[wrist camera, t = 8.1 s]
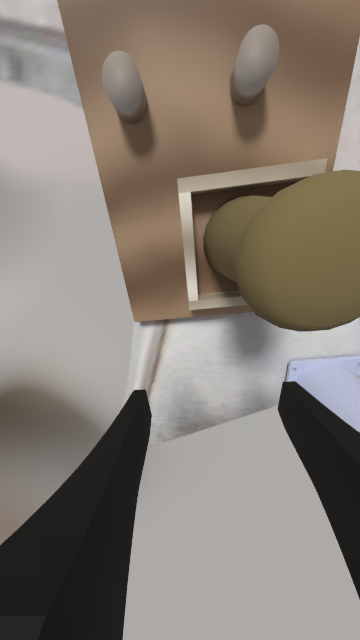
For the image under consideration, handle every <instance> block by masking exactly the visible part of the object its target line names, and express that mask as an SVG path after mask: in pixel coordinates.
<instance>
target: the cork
mask: <svg viewBox="0 0 360 640" xmlns="http://www.w3.org/2000/svg"><path fill="white" fill-rule="evenodd" d="M203 249H204V253H205V256H206V259H207V261H208V263H209V264H210V265H211V266H212V268H213V269H214V270H215V271H217V272H218V273H220V274H222V275H223V276H225V277H227V278H229V279H231V280H233V281H235V282H237V285H238V288H239V291H240V294H241V296H242V297H243V299H244V300H245V301H246V303H247V304H248V305H249V306H250V307H251V309H252V310H253V311H254V312H255V314H256V315H258V316H259V317H261V318H263V319H265V320H266V321H268V322H270V323H272V324H274V325H276V326H278V327H280V328H284V329H289V330H295V331H318V330H329V329H332V328H335V327H338V326H341V325H344V324H347V323H350V322H352V321H354V320H355V319H357V318H359V317H360V171H352V170H341V171H334V172H327V173H320V174H315V175H312V176H310V177H307V178H305V179H303V180H301V181H299V182H297V183H295V184H293V185H291V186H289V187H287V188H285V189H283V190H281V191H279V192H278V193H276V194H275V195H274V196H273V197H266V196H254V195H245V196H238V197H234V198H232V199H230V200H228V201H226V202H224V203H223V204H222V205H221V206H220V207H219V208H218V209H217V210H216V211H215V212H214V213H213V214H212V216H211V217H210V219H209V221H208V223H207V225H206V227H205V232H204V236H203Z"/></svg>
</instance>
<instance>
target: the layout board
mask: <svg viewBox="0 0 360 640" xmlns="http://www.w3.org/2000/svg"><path fill="white" fill-rule="evenodd" d="M57 1H58V5H59V9H60V13H61V18H62V22H63V26H64V30H65V34H66V38H67V43H68V47H69V51H70V55H71V59H72V63H73V68H74V72H75V76H76V80H77V84H78V88H79V92H80V97H81V101H82V105H83V109H84V113H85V117H86V122H87V125H88V130H89V134H90V138H91V142H92V146H93V151H94V155H95V158H96V163H97V167H98V171H99V176H100V179H101V183H102V188H103V192H104V196H105V201H106V205H107V209H108V213H109V217H110V221H111V225H112V230H113V234H114V238H115V242H116V246H117V250H118V254H119V259H120V262H121V267H122V271H123V275H124V279H125V284H126V288H127V292H128V296H129V300H130V304H131V309H132V313H133V317H134V321H135V322H142V321H153V320H164V319H175V318H186V317H197V316H209V315H220V314H231V313H242V312H253V310H252V309H251V307H250V306H249V305H248V304H247V303H246V301H245V300H244V299H243V297H242V296H241V294H240V291H239V288H238V285H237V282H235V281H233V280H231V279H229V278H227V277H225V276H223V275H222V274H220V273H218V272H217V271H215V270H214V269H213V268H212V266H211V265H210V264H209V263H208V261H207V259H206V256H205V253H204V249H203V236H204V232H205V227H206V225H207V223H208V221H209V219H210V217H211V216H212V214H213V213H214V212H215V211H216V210H217V209H218V208H219V207H220V206H221V205H222V204H223V203H224V202H226V201H228V200H230V199H232V198H234V197H238V196H245V195H254V196H266V197H273V196H274V195H275V194H276V193H278V192H279V191H281V190H283V189H285V188H287V187H289V186H291V185H293V184H295V183H297V182H299V181H301V180H303V179H305V178H307V177H310V176H312V175H315V174H320V173H327V172H333V167H334V162H335V157H336V151H337V146H338V141H339V136H340V131H341V126H342V121H343V116H344V111H345V106H346V101H347V96H348V91H349V86H350V81H351V76H352V71H353V66H354V61H355V56H356V51H357V46H358V41H359V36H360V0H57Z"/></svg>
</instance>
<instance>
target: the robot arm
mask: <svg viewBox="0 0 360 640" xmlns="http://www.w3.org/2000/svg"><path fill="white" fill-rule="evenodd" d="M292 368H293V369H292ZM359 375H360V356H348V357H334V358H320V359H306V360H293V361H291V362H290V363H289V365H288V371H287V376H286V381H285V382H283V384H282V389H281V395H280V400H279V405H278V411H279V414H280V417H281V419H282V422H283V425H284V427H285V429H286V432H287V434H288V435H289V437H290V440H291V441H292V443H293V445H294V447H295V449H296V451H297V453H298V455H299V457H300V459H301V461H302V463H303V465H304V467H305V469H306V470H307V472H308V474H309V476H310V478H311V480H312V482H313V484H314V487H315V489H316V491H317V493H318V495H319V498H320V500H321V502H322V505H323V507H324V509H325V511H326V514H327V517H328V519H329V521H330V523H331V526H332V529H333V531H334V534H335V536H336V539H337V541H338V544H339V546H340V549H341V551H342V554H343V556H344V559H345V562H346V564H347V567H348V569H349V572H350V574H351V577H352V580H353V583H354V585H355V588H356V590H357V593H358V596H359V598H360V378H359ZM151 416H152V415H151V410H150V406H149V402H148V398H147V394H146V390H134V391H133V392H132V394H131V396H130V397H129V399H128V400H127V402H126V404H125V405H124V407H123V408H122V410H121V411H120V413H119V414H118V416H117V417H116V419H115V420H114V422H113V423H112V424H111V426H110V427H109V429H108V430H107V432H106V433H105V434H104V435H103V437H102V438H101V439H100V441H99V442H98V443H97V445H96V446H95V447H94V449H93V450H92V451H91V452H90V454H89V455H88V456H87V457H86V458H85V460H84V461H83V462H82V463H81V464H80V466H79V467H78V468H77V469H76V470H75V471H74V472H73V473H72V475H71V476H70V477H69V478H68V479H67V480H66V481H65V482H64V483H63V484H62V486H61V487H60V488H59V489H58V490H57V491H56V492H55V493H54V494H53V495H52V496H51V497H50V498H49V499H48V500H47V501H46V502H45V503H44V504H43V505H42V506H41V507H40V508H39V509H38V510H37V511H36V512H35V513H34V514H33V515H32V516H31V517H30V518H29V519H28V520H27V521H26V522H25V523H24V524H23V525H22V526H21V527H20V528H19V529H18V530H17V531H15V532H14V533H13V534H12V535H11V536H10V537H9V538H8V539H7V540H6V541H4V542H3V543H2V544H1V545H0V640H122V638H123V626H124V615H125V604H126V593H127V583H128V574H129V564H130V554H131V545H132V537H133V528H134V520H135V511H136V503H137V497H138V490H139V485H140V480H141V475H142V470H143V466H144V461H145V455H146V451H147V446H148V441H149V436H150V427H151Z"/></svg>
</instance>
